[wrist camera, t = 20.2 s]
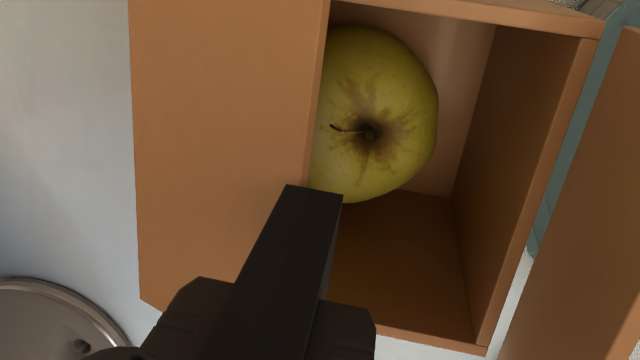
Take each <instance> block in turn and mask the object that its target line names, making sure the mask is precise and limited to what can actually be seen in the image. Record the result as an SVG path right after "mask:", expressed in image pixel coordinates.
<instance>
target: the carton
mask: <svg viewBox="0 0 640 360" xmlns="http://www.w3.org/2000/svg"><path fill="white" fill-rule="evenodd" d="M351 24H360V25H367V26H372V27H375V28H379V29H382V30H386V31H388V32H390V33H391V34H393V35H395V36H397V37H398V38H399V39H401V40H402V41H403V42H404V43H405V44H406V45H407V46H408V47H409V48H410V49H411V50H412V51H413V53H414V54H415V55H416V57H417V58H418V59H419V60H420V62H421V63H422V64H423V66H424V67H425V68H426V69H427V71H428V73H429V74H430V76H431V78H432V79H433V82H434V84H435V86H436V89H437V91H438V97H439V110H438V128H437V143H436V147H435V151H434V153H433V155H432V157H431V158H430V159H429V161H428V162H427V163H426V165H425V166H424V167H423V168H421V169H420V170H419V171H418V172H417V173H416V174H415V175H414V176H413V177H412V178H411V179H410V180H408V181H407V182H405V183H404V184H403V185H401V186H400V187H398V188H396V189H394V190H392V191H390V192H388V193H386V194H383V195H380V196H378V197H375V198H372V199H369V200H366V201H361V202H356V203H342V208H341V214H340V220H339V226H338V233H337V239H336V245H335V251H334V257H333V263H332V269H331V275H330V281H329V285H328V290H327V294H326V298H325V300H327V301H332V302H336V303H341V304H346V305H351V306H356V307H361V308H366V309H368V311H369V313H370V315H371V317H372V320H373V322H374V324H375V326H376V334H377V335H382V336H387V337H392V338H396V339H401V340H406V341H411V342H415V343H420V344H425V345H429V346H434V347H439V348H444V349H448V350H453V351H458V352H463V353H467V354H472V355H477V356H482V357H485V356H486V353H487V350H488V346H489V344H490V342H491V339H492V336H493V333H494V331H495V328H496V325H497V322H498V320H499V317H500V314H501V311H502V309H503V306H504V303H505V300H506V298H507V295H508V292H509V289H510V287H511V284H512V281H513V278H514V276H515V273H516V270H517V267H518V265H519V262H520V259H521V256H522V254H523V251H524V248H525V245H526V243H527V240H528V237H529V234H530V232H531V229H532V226H533V223H534V221H535V218H536V215H537V212H538V210H539V207H540V204H541V201H542V199H543V196H544V193H545V190H546V188H547V185H548V182H549V179H550V177H551V174H552V171H553V168H554V166H555V163H556V160H557V157H558V155H559V152H560V149H561V146H562V144H563V141H564V138H565V135H566V133H567V130H568V127H569V124H570V122H571V119H572V116H573V113H574V111H575V108H576V105H577V102H578V100H579V97H580V94H581V91H582V89H583V86H584V83H585V80H586V78H587V75H588V72H589V69H590V67H591V64H592V61H593V58H594V56H595V53H596V50H597V47H598V45H599V39H600V38H601V36H602V34H603V31H604V28H605V25H606V21H605V20H602V19H599V18H596V17H593V16H590V15H587V14H585V13H582V12H579V11H576V10H573V9H570V8H567V7H565V6H562V5H559V4H556V3H553V2H550V1H547V0H331V2H330V10H329V18H328V26H327V30H328V29H331V28H335V27H340V26H345V25H351ZM639 338H640V28H636V27H629V26H624V27H623V28H622V31H621V33H620V36H619V39H618V41H617V44H616V47H615V49H614V52H613V55H612V57H611V60H610V62H609V65H608V68H607V70H606V73H605V76H604V78H603V81H602V84H601V86H600V89H599V91H598V94H597V97H596V99H595V102H594V105H593V107H592V110H591V113H590V115H589V118H588V121H587V123H586V126H585V128H584V131H583V134H582V136H581V139H580V142H579V144H578V147H577V150H576V152H575V155H574V157H573V160H572V163H571V165H570V168H569V171H568V173H567V176H566V179H565V181H564V184H563V186H562V189H561V192H560V194H559V197H558V200H557V202H556V205H555V208H554V210H553V213H552V216H551V218H550V221H549V223H548V226H547V229H546V231H545V234H544V237H543V239H542V242H541V245H540V247H539V250H538V252H537V255H536V258H535V260H534V263H533V266H532V268H531V271H530V274H529V276H528V279H527V281H526V284H525V287H524V289H523V292H522V295H521V297H520V300H519V303H518V305H517V308H516V311H515V313H514V316H513V318H512V321H511V324H510V326H509V329H508V332H507V334H506V337H505V340H504V342H503V345H502V347H501V350H500V353H499V355H498V358H497V360H628V359H629V357H630V355H631V353H632V351H633V349H634V347H635V346H636V344H637V342H638V340H639Z"/></svg>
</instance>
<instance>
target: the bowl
mask: <svg viewBox="0 0 640 360" xmlns="http://www.w3.org/2000/svg"><path fill="white" fill-rule="evenodd" d="M579 12H582V13H585V14H587V15H590V16H593V17H596V18H599V19H602V20H605V21H606V25H605V28H604V31H603V34H602V36H601V38H600V39H599V45H598V47H597V50H596V53H595V56H594V58H593V61H592V64H591V67H590V69H589V72H588V75H587V78H586V80H585V83H584V86H583V89H582V91H581V94H580V97H579V100H578V102H577V105H576V108H575V111H574V113H573V116H572V119H571V122H570V124H569V127H568V130H567V133H566V135H565V138H564V141H563V144H562V146H561V149H560V152H559V155H558V157H557V160H556V163H555V166H554V168H553V171H552V174H551V177H550V179H549V182H548V185H547V188H546V190H545V193H544V196H543V199H542V201H541V204H540V207H539V210H538V212H537V215H536V218H535V221H534V223H533V226H532V229H531V232H530V234H529V237H528V240H527V243H526V245H525V248H526V250H527V252H528V255H529V256H530V257H531V259H532V260H533V262H534V260H535V258H536V255H537V252H538V250H539V247H540V245H541V242H542V239H543V237H544V234H545V231H546V229H547V226H548V223H549V221H550V218H551V216H552V213H553V210H554V208H555V205H556V202H557V200H558V197H559V194H560V192H561V189H562V186H563V184H564V181H565V179H566V176H567V173H568V171H569V168H570V165H571V163H572V160H573V157H574V155H575V152H576V150H577V147H578V144H579V142H580V139H581V136H582V134H583V131H584V128H585V126H586V123H587V121H588V118H589V115H590V113H591V110H592V107H593V105H594V102H595V99H596V97H597V94H598V91H599V89H600V86H601V84H602V81H603V78H604V76H605V73H606V70H607V68H608V65H609V62H610V60H611V57H612V55H613V52H614V49H615V47H616V44H617V41H618V39H619V36H620V33H621V31H622V28H623V27H624V26H629V27H636V28H640V0H588V1H587V2H586V3H585V4H584V5H583V6H582V7H581V8H580V9H579ZM639 339H640V338H639Z"/></svg>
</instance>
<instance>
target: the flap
mask: <svg viewBox="0 0 640 360" xmlns="http://www.w3.org/2000/svg"><path fill="white" fill-rule="evenodd" d="M330 2H331V0H128V11H129V36H130V61H131V86H132V111H133V136H134V161H135V185H136V210H137V235H138V260H139V285H140V299H141V300H143V301H145V302H146V303H148V304H149V305H151V306H153V307H154V308H156V309H158V310H159V311H161V312H163V313H164V311H166V310H167V307H168V305H169V304H170V302H171V301H172V299H173V298H174V296H175V295H176V293H177V292H178V290H179V289H180V288H182V287H183V286H185V285H186V284H188V283H189V282H191V281H192V280H194V279H195V278H197V277H198V276H202V277H207V278H212V279H217V280H221V281H226V282H231V283H235V281H236V279H237V277H238V275H239V273H240V271H241V269H242V267H243V265H244V263H245V262H246V260H247V258H248V256H249V254H250V252H251V250H252V248H253V246H254V244H255V242H256V240H257V239H258V237H259V235H260V233H261V231H262V229H263V227H264V225H265V223H266V221H267V219H268V218H269V216H270V214H271V212H272V210H273V208H274V206H275V204H276V202H277V200H278V198H279V197H280V195H281V193H282V191H283V189H284V187H285V185H286V184H289V185H295V186H300V187H306V188H307V182H308V174H309V166H310V159H311V151H312V143H313V135H314V127H315V120H316V112H317V104H318V96H319V88H320V81H321V73H322V65H323V57H324V49H325V41H326V34H327V26H328V18H329V10H330Z"/></svg>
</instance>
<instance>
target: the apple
mask: <svg viewBox="0 0 640 360" xmlns="http://www.w3.org/2000/svg"><path fill="white" fill-rule="evenodd" d="M438 110H439V97H438V91H437V89H436V86H435V84H434V82H433V79H432V78H431V76H430V74H429V73H428V71H427V69H426V68H425V67H424V66H423V64H422V63H421V62H420V60H419V59H418V58H417V57H416V55H415V54H414V53H413V51H412V50H411V49H410V48H409V47H408V46H407V45H406V44H405V43H404V42H403V41H402V40H401V39H399V38H398V37H397V36H395V35H393V34H391V33H390V32H388V31H386V30H382V29H379V28H375V27H372V26H367V25H360V24H351V25H345V26H340V27H335V28H331V29H328V30H327V34H326V41H325V49H324V57H323V65H322V73H321V81H320V88H319V96H318V104H317V112H316V120H315V127H314V135H313V143H312V151H311V159H310V166H309V174H308V182H307V188H311V189H316V190H322V191H327V192H333V193H338V194H343V195H344V196H343V202H342V203H356V202H361V201H366V200H369V199H372V198H375V197H378V196H380V195H383V194H386V193H388V192H390V191H392V190H394V189H396V188H398V187H400V186H401V185H403V184H404V183H405V182H407V181H408V180H410V179H411V178H412V177H413V176H414V175H415V174H416V173H417V172H418V171H419V170H420V169H421V168H423V167H424V166H425V165H426V163H427V162H428V161H429V159H430V158H431V157H432V155H433V153H434V151H435V147H436V143H437V128H438Z"/></svg>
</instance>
